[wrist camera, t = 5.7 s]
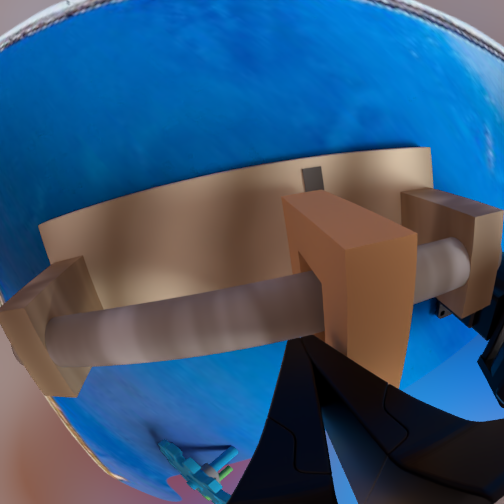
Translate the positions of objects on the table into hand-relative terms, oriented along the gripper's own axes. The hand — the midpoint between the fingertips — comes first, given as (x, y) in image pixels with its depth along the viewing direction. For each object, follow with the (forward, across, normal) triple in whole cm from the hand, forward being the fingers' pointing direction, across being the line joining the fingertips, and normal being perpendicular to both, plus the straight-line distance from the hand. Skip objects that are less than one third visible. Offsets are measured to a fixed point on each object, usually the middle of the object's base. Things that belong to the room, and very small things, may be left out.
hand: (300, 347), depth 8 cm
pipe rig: (+8, +1, 0) cm, 8 cm away
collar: (+6, -2, 0) cm, 7 cm away
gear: (+9, +9, +19) cm, 23 cm away
